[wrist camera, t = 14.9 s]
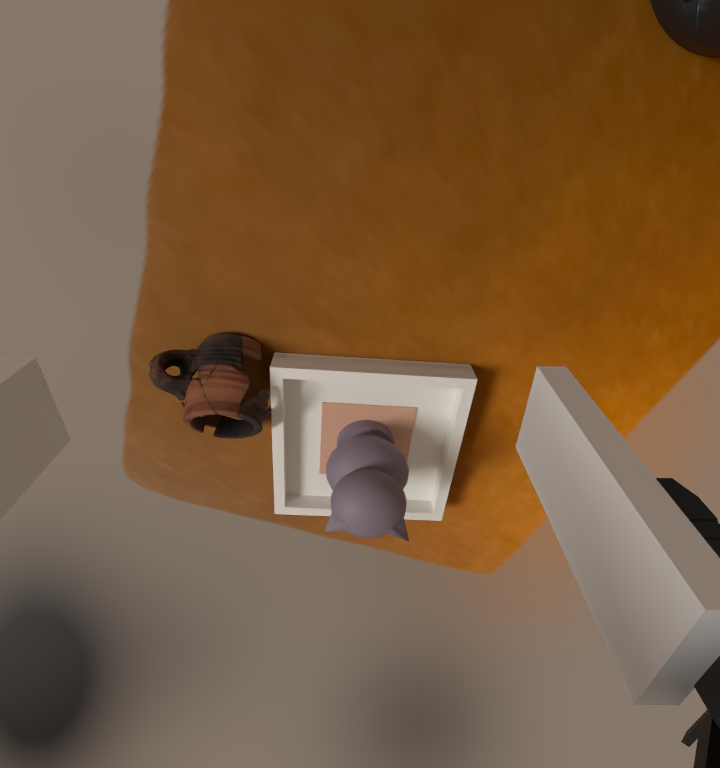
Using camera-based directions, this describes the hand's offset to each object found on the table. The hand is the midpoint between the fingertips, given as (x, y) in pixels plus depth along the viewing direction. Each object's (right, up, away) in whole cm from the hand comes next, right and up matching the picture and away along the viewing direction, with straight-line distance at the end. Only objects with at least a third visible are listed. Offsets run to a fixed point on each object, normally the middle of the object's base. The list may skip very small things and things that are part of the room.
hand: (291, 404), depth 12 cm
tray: (+2, -5, +38) cm, 38 cm away
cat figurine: (+3, -6, +37) cm, 37 cm away
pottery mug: (-12, +2, +33) cm, 35 cm away
